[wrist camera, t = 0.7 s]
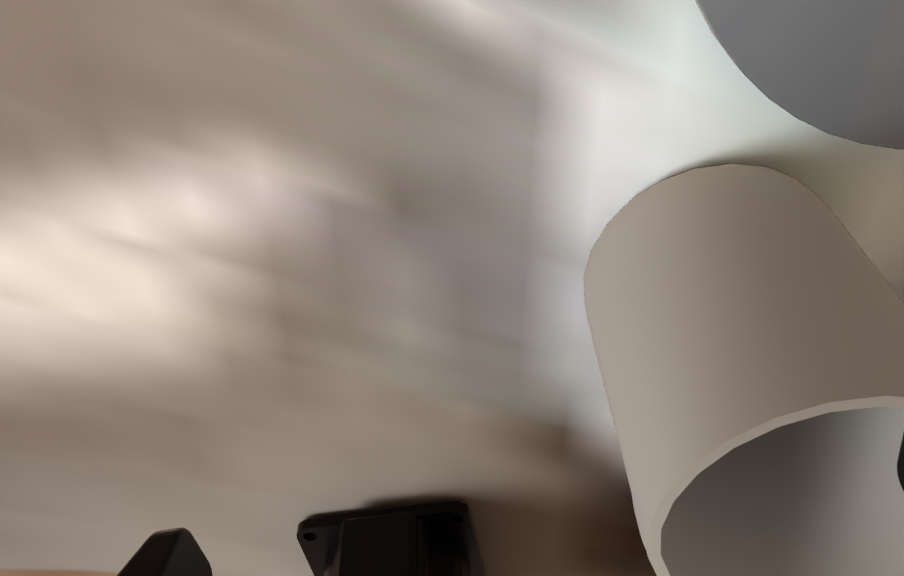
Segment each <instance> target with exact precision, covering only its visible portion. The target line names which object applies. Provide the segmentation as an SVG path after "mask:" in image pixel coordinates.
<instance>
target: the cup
mask: <svg viewBox="0 0 904 576" xmlns="http://www.w3.org/2000/svg"><path fill="white" fill-rule="evenodd" d="M584 296H585V307H586V314H587V320H588V324H589V328H590V332H591V336H592V339H593V343H594V347H595V351H596V355H597V359H598V363H599V367H600V371H601V375H602V379H603V383H604V387H605V391H606V394H607V398H608V402H609V406H610V410H611V414H612V418H613V422H614V426H615V430H616V434H617V438H618V442H619V446H620V449H621V453H622V457H623V461H624V465H625V469H626V473H627V477H628V481H629V485H630V489H631V493H632V500H633V507H634V512H635V516H636V520H637V524H638V528H639V531H640V535H641V539H642V541H643V544H644V546H645V549H646V552H647V555H648V558H649V560H650V562H651V564H652V567H653V569H654V571H655V573H656V575H657V576H904V492H903V489H902V487H901V485H900V482H899V478H898V474H897V460H898V456H899V451H900V446H901V441H902V437H903V432H904V302H903V301H902V300H901V298H900V297H899V296H898V295H897V293H896V292H895V291H894V290H893V288H892V287H891V286H890V284H889V283H888V282H887V281H886V279H885V278H884V277H883V276H882V274H881V273H880V272H879V270H878V269H877V268H876V267H875V265H874V264H873V263H872V261H871V260H870V259H869V258H868V256H867V255H866V254H865V253H864V251H863V250H862V249H861V247H860V246H859V245H858V244H857V242H856V241H855V240H854V239H853V237H852V236H851V235H850V233H849V232H848V231H847V230H846V228H845V227H844V226H843V224H842V223H841V222H840V221H839V219H838V218H837V217H836V216H835V214H834V213H833V212H832V210H831V209H830V208H829V207H828V206H827V205H826V204H825V203H824V202H823V201H822V200H821V199H820V198H819V197H818V196H817V195H816V194H815V193H813V192H812V191H811V190H810V189H808V188H807V187H806V186H805V185H803V184H802V183H801V182H800V181H798V180H797V179H796V178H794V177H791V176H789V175H786V174H783V173H781V172H778V171H776V170H773V169H771V168H768V167H762V166H752V165H741V164H726V165H718V166H711V167H704V168H696V169H692V170H689V171H686V172H683V173H681V174H678V175H675V176H673V177H670V178H667V179H664V180H662V181H660V182H658V183H657V184H655V185H653V186H652V187H650V188H649V189H647V190H645V191H644V192H642V193H641V194H639V195H638V196H636V197H634V198H633V199H632V200H631V201H630V202H629V203H628V204H627V205H626V206H625V207H624V208H623V209H622V210H621V211H620V212H619V213H618V214H617V215H616V216H615V217H614V218H613V219H612V220H611V221H610V222H609V223H608V224H607V225H606V226H605V228H604V230H603V231H602V233H601V235H600V236H599V238H598V239H597V241H596V243H595V244H594V246H593V248H592V249H591V251H590V255H589V259H588V262H587V266H586V270H585V274H584Z"/></svg>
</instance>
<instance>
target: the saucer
mask: <svg viewBox="0 0 904 576" xmlns="http://www.w3.org/2000/svg"><path fill="white" fill-rule="evenodd" d="M695 1H696V3H697V5H698V7H699V9H700V11H701V13H702V15H703V17H704V18H705V20H706V22H707V24H708V26H709V28H710V30H711V32H712V33H713V35H714V36H715V37H716V39H717V40H718V42H719V43H720V44H721V46H722V47H723V48H724V50H725V51H726V53H727V54H728V55H729V57H730V58H731V59H732V61H733V62H734V63H735V64H736V66H737V67H738V68H739V69H740V70H741V71H742V73H743V74H744V75H745V76H746V77H747V78H748V79H749V80H750V81H751V82H752V83H753V84H754V85H755V86H756V87H757V88H758V89H759V90H760V91H762V92H763V93H764V94H765V95H766V96H767V97H768V98H769V99H770V100H771V101H773V102H774V103H776V104H777V105H779V106H780V107H782V108H783V109H784V110H786V111H787V112H789V113H790V114H792V115H793V116H794V117H796V118H797V119H799V120H802V121H804V122H806V123H808V124H810V125H812V126H814V127H816V128H818V129H820V130H822V131H824V132H827V133H829V134H832V135H835V136H839V137H842V138H845V139H849V140H852V141H855V142H858V143H862V144H868V145H874V146H881V147H887V148H894V149H904V0H695Z"/></svg>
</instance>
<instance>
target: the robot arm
mask: <svg viewBox="0 0 904 576" xmlns="http://www.w3.org/2000/svg"><path fill="white" fill-rule="evenodd" d="M897 474H898V478H899V482H900V485H901V487H902V489H903V492H904V432H903V437H902V441H901V446H900V451H899V456H898V460H897ZM297 539H298V541H299V543H300V546H301V548H302V550H303V552H304V554H305V556H306V559H307V561H308V563H309V565H310V567H311V569H312V571H313V574H314V576H485V573H484V569H483V565H482V561H481V556H480V552H479V548H478V544H477V539H476V535H475V531H474V526H473V522H472V518H471V514H470V509H469V507H468V506H467V505H466V504H464V503H461V502H449V503H440V504H432V505H424V506H415V507H407V508H399V509H391V510H382V511H374V512H366V513H357V514H349V515H341V516H333V517H324V518H316V519H308V520H304V521H302V522H300V523H299V525H298V530H297ZM117 576H212V570H211V566H210V564H209V561H208V560H207V558H206V557H205V555H204V553H203V552H202V550H201V549H200V547H199V545H198V544H197V542H196V541H195V539H194V537H193V536H192V534H191V533H190V531H189V530H187V529H185V528H174V529H168V530H161V531H157V532H155V533H153V534H152V535H151V536H150V537H149V538H148V539H147V540H146V541H145V542H144V544H143V545H142V546H141V547H140V548H139V550H138V551H137V552H136V553H135V554H134V556H133V557H132V558H131V559H130V560H129V562H128V563H127V564H126V565H125V566H124V568H123V569H122V570H121V571H120V572H119V574H118V575H117Z"/></svg>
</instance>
